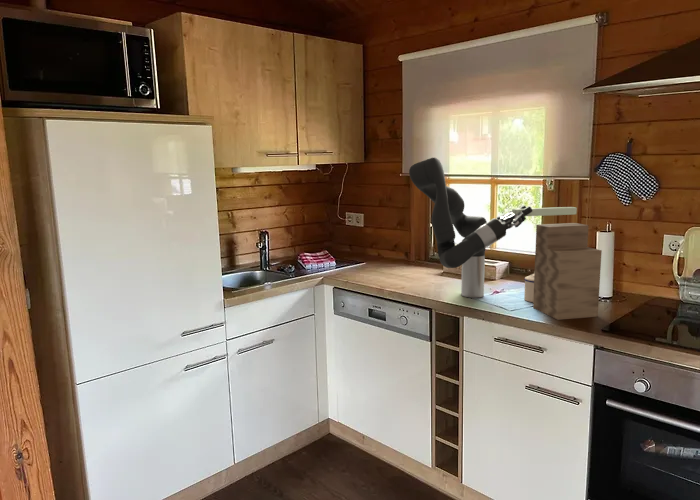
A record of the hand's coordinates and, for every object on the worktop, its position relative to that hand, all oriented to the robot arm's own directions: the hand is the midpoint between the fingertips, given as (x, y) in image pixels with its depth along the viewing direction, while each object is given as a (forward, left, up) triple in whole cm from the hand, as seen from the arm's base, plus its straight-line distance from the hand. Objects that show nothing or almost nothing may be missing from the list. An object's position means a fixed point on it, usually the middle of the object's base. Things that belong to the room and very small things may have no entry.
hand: (528, 208), depth 191 cm
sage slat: (0, +7, -3) cm, 7 cm away
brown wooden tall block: (+4, +14, -39) cm, 41 cm away
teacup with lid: (-15, +14, -39) cm, 44 cm away
